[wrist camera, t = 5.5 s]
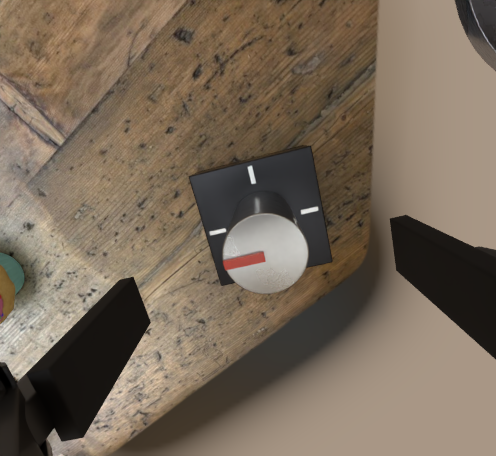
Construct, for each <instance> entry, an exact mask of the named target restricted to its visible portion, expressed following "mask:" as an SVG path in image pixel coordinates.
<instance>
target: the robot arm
mask: <svg viewBox="0 0 496 456" xmlns="http://www.w3.org/2000/svg"><path fill="white" fill-rule="evenodd" d="M390 224H391V232H392V240H393V247H394V256H395V263H396V270H397V271H398V272H399V273H400V274H401V275H402V276H403V277H404V278H405V279H407V280H408V281H409V282H410V283H411V284H412V285H413V286H414V287H415V288H417V289H418V290H419V291H420V292H421V293H422V294H423V295H424V296H426V297H427V298H428V299H429V300H430V301H431V302H432V303H433V304H435V305H436V306H437V307H438V308H439V309H440V310H441V311H442V312H443V313H445V314H446V315H447V316H448V317H449V318H450V319H451V320H452V321H454V322H455V323H456V324H457V325H458V326H459V327H460V328H461V329H462V330H464V331H465V332H466V333H467V334H468V335H469V336H470V337H471V338H473V339H474V340H475V341H476V342H477V343H478V344H479V345H480V346H481V347H483V348H484V349H485V350H486V351H487V352H488V353H489V354H490V355H491V356H493V357H494V358H495V359H496V250H494V249H489V248H484V247H473V246H471V245H469V244H466V243H464V242H462V241H460V240H458V239H456V238H454V237H452V236H449V235H447V234H445V233H443V232H441V231H439V230H437V229H435V228H432V227H430V226H428V225H426V224H424V223H422V222H420V221H418V220H415V219H413V218H411V217H409V216H407V215H404V216H399V217H395V218H391V219H390ZM150 323H151V322H150V319H149V317H148V314H147V311H146V309H145V306H144V303H143V301H142V298H141V296H140V293H139V290H138V288H137V285H136V282H135V280H134V277H130V278H126V279H122V280H119V281H118V282H117V283H116V284H115V285H114V286H113V287H112V288H111V289H110V290H109V291H108V292H107V293H106V294H105V295H104V296H103V297H102V298H101V299H100V300H99V301H98V302H97V303H96V304H95V305H94V306H93V307H92V308H91V309H90V310H89V311H88V312H87V313H86V314H85V315H84V316H83V317H82V318H81V319H80V320H79V321H78V322H77V323H76V324H75V325H74V326H73V327H72V328H71V329H70V330H69V331H68V332H67V333H66V334H65V335H64V336H63V337H62V338H61V339H60V340H59V341H58V342H57V343H56V344H55V345H54V346H53V347H52V348H51V349H50V350H49V351H48V352H47V353H46V354H45V355H44V356H43V357H42V358H41V359H40V360H39V361H38V362H37V363H36V364H35V365H34V366H33V367H32V368H31V369H30V370H29V371H28V372H27V373H26V374H25V375H24V376H23V377H22V378H21V379H20V380H19V381H18V382H17V383H16V381H15V379H14V378H13V376H12V374H11V372H10V370H9V368H8V367H7V365H6V363H2V362H0V456H53V455H52V448H51V446H50V444H49V442H48V440H47V437H48V436H49V434H50V433H51V431H52V430H53V429H54V428H55V430H56V432H57V433H58V435H59V437H60V439H61V441H67V440H73V439H78V438H83V437H84V435H85V434H86V432H87V430H88V428H89V427H90V425H91V423H92V422H93V420H94V418H95V417H96V415H97V413H98V411H99V410H100V408H101V406H102V405H103V403H104V401H105V399H106V398H107V396H108V394H109V393H110V391H111V389H112V388H113V386H114V384H115V382H116V381H117V379H118V377H119V376H120V374H121V372H122V370H123V369H124V367H125V365H126V364H127V362H128V360H129V359H130V357H131V355H132V353H133V352H134V350H135V348H136V347H137V345H138V343H139V341H140V340H141V338H142V336H143V335H144V333H145V331H146V330H147V328H148V326H149V324H150Z"/></svg>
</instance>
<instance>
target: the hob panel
mask: <svg viewBox="0 0 496 456" xmlns="http://www.w3.org/2000/svg"><path fill="white" fill-rule="evenodd" d="M189 179H190V182H191V186H192V189H193V193H194V196H195V199H196V203H197V206H198V209H199V213H200V216H201V219H202V223H203V226H204V229H205V233H206V236H207V240H208V243H209V246H210V250H211V253H212V256H213V260H214V263H215V266H216V270H217V273H218V277H219V280H220V283H221V286H223V285H228V284H233V283H235V282H234V281H233V280H232V278H231V277H230V276H229V274H228V273H227V271H225V268H224V265H223V257H222V250H223V244H224V241H225V238H226V235H227V232H228V229H229V226H230V223H231V220H232V217H233V214H234V211H235V209H236V207H237V205H238V204H239V202H240V201H241V200H242V199H243V198H245V197H246V196H248V195H249V194H252V193H255V192H259V191H267V192H272V193H275V194H277V195H279V196H281V197H282V198H283V199H284V200H285V201H286V202H287V203H288V205H289V206H290V208H291V210H292V212H293V214H294V216H295V218H296V220H297V222H298V224H299V226H300V228H301V230H302V232H303V233H304V235H305V238H306V240H307V243H308V249H309V258H308V263H307V266H306V268H307V267H312V266H316V265H321V264H326V263H330V262H332V256H331V250H330V245H329V240H328V234H327V229H326V224H325V218H324V213H323V208H322V202H321V197H320V191H319V186H318V181H317V175H316V170H315V165H314V159H313V154H312V149H311V146H304V145H302V146H298V147H294V148H290V149H287V150H283V151H279V152H275V153H271V154H267V155H263V156H259V157H255V158H251V159H247V160H243V161H239V162H235V163H231V164H227V165H223V166H219V167H216V168H212V169H208V170H204V171H200V172H197V173H195V174H193V175H191V176H189Z"/></svg>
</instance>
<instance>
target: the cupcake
mask: <svg viewBox="0 0 496 456" xmlns="http://www.w3.org/2000/svg"><path fill="white" fill-rule="evenodd" d="M24 279H25V277H24V272H23V269H22V267H21V266H20V264H19V263H18V262H17V261H16V260H15V259H14V258H12V257H11V256H9V255H7V254H4V253H0V324H1V323H2V322H3V321H4V320H5V319H6V317H7V316H8V315H9V314H10V313H11V311H12V310H13V308H14V300H15V295H16V294H17V293H18V291H19V290H20V289H21V288H22V286H23V284H24Z"/></svg>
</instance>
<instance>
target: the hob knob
mask: <svg viewBox="0 0 496 456" xmlns="http://www.w3.org/2000/svg"><path fill="white" fill-rule="evenodd" d="M222 257H223V265H224V268H225V271H227V273H228V274H229V276H230V277H231V278H232V280H233V281H234V282H235V283H237V284H238V285H239V286H241V287H242V288H244V289H246V290H248V291H251V292H254V293H258V294H272V293H277V292H280V291H283V290H285V289H287V288H289V287H290V286H292V285H293V284H294V283H296V282H297V281H298V280H299V278H300V277H301V276H302V274H303V273H304V271H305V269H306V266H307V263H308V258H309V249H308V243H307V240H306V238H305V235H304V233H303V232H302V230H301V228H300V226H299V224H298V222H297V220H296V218H295V216H294V214H293V212H292V210H291V208H290V206H289V205H288V203H287V202H286V201H285V200H284V199H283V198H282V197H281V196H279V195H277V194H275V193H272V192H267V191H259V192H255V193H252V194H249V195H248V196H246V197H245V198H243V199H242V200H241V201H240V202H239V204H238V205H237V207H236V209H235V211H234V214H233V217H232V220H231V223H230V226H229V229H228V232H227V235H226V238H225V241H224V244H223V250H222Z"/></svg>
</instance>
